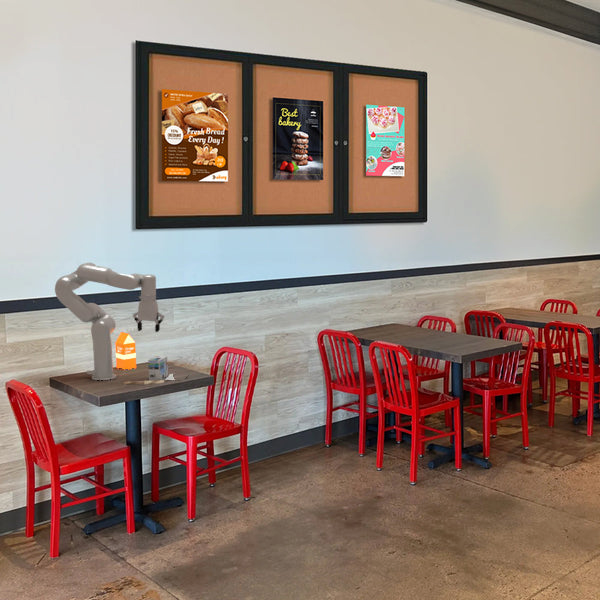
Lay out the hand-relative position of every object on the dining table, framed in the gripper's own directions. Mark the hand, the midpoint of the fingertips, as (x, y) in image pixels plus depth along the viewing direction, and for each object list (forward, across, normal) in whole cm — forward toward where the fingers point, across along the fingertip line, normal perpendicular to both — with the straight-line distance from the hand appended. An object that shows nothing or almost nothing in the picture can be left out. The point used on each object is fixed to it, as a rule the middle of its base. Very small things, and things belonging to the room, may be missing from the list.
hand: (148, 331), depth 394 cm
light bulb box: (+25, +5, +1) cm, 26 cm away
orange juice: (+26, -23, +21) cm, 41 cm away
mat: (+24, +14, +4) cm, 29 cm away
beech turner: (+25, +3, -11) cm, 27 cm away
